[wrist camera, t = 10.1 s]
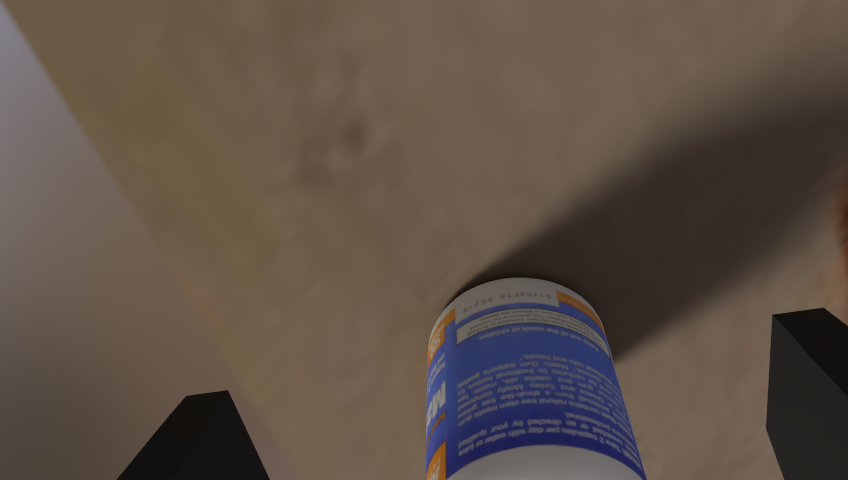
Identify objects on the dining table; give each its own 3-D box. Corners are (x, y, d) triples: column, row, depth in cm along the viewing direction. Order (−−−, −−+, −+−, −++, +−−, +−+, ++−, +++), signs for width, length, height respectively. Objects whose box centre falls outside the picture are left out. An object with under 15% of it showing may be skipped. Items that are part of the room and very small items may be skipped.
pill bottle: (403, 297, 22) (380, 614, 14) (585, 249, 21) (672, 563, 13) (458, 421, 25) (466, 747, 17) (622, 385, 24) (713, 713, 16)
